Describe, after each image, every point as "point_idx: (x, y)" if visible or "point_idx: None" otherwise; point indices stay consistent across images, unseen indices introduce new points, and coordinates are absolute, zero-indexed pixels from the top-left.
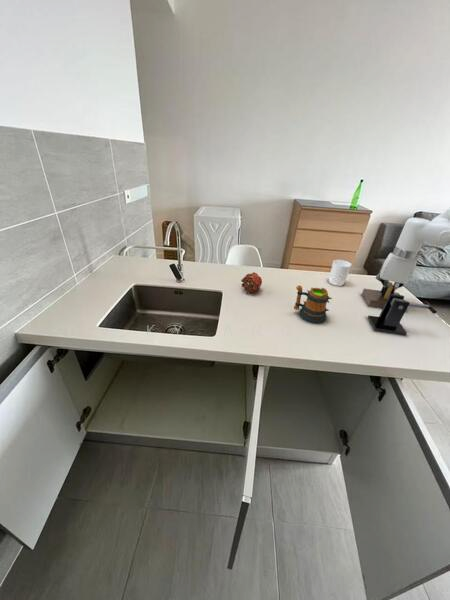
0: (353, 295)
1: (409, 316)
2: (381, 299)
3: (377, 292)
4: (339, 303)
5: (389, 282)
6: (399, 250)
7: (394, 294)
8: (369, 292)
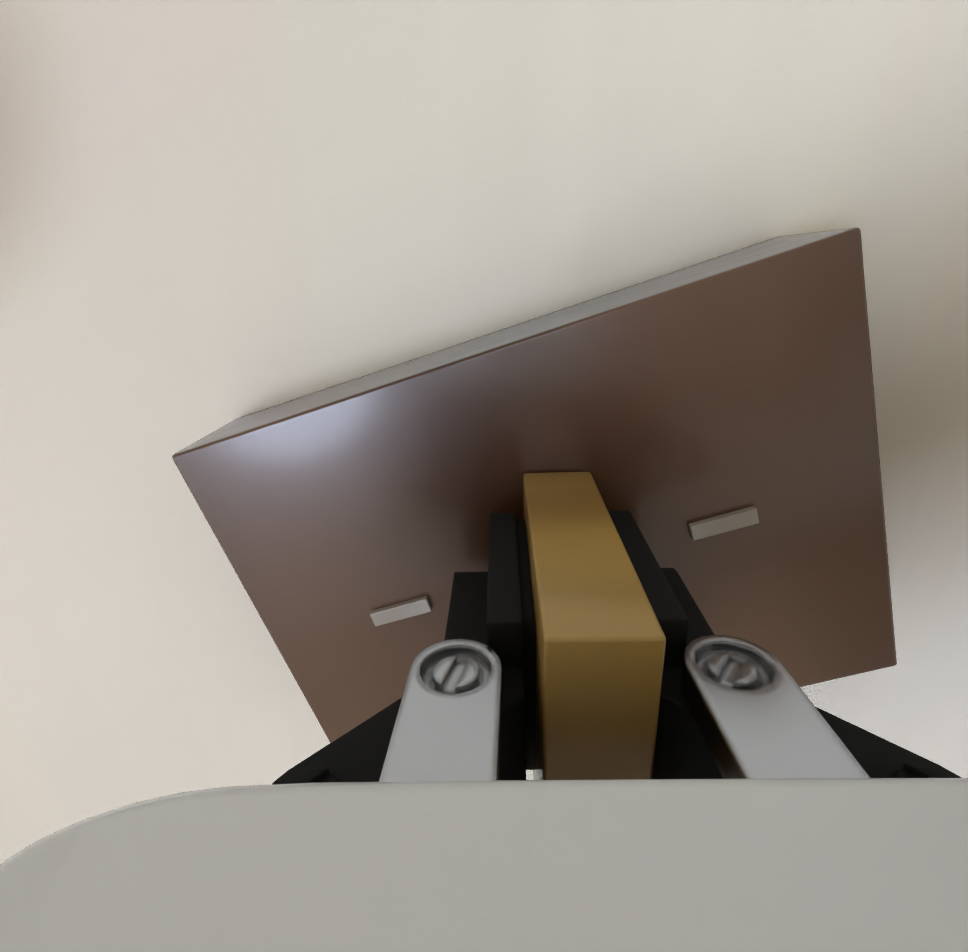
0: (149, 520)
1: (836, 686)
2: None
3: (423, 484)
4: (90, 793)
5: (575, 673)
6: None
7: (744, 380)
8: (295, 569)
